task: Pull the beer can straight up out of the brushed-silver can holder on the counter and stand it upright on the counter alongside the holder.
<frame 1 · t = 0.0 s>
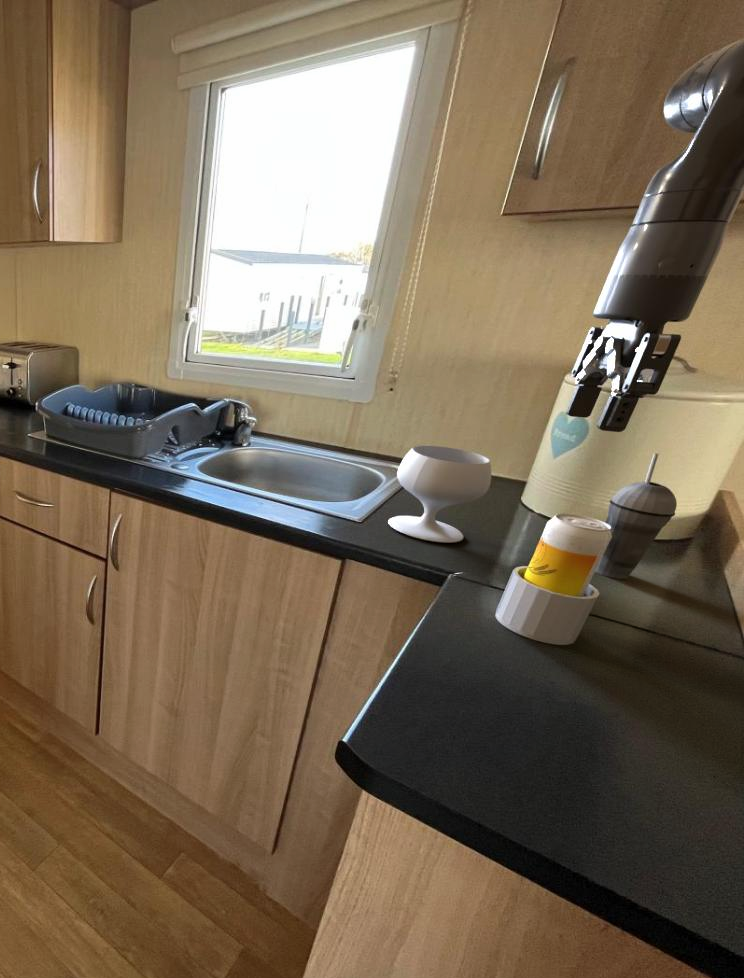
hand: (592, 423, 65), 28 cm above the worktop, tool pointing down, fingers open, 8 cm apart
can holder: (534, 626, 75), on the worktop
chalice: (423, 531, 104), on the worktop
beverage cup: (608, 573, 90), on the worktop
beer can: (535, 623, 75), resting on can holder
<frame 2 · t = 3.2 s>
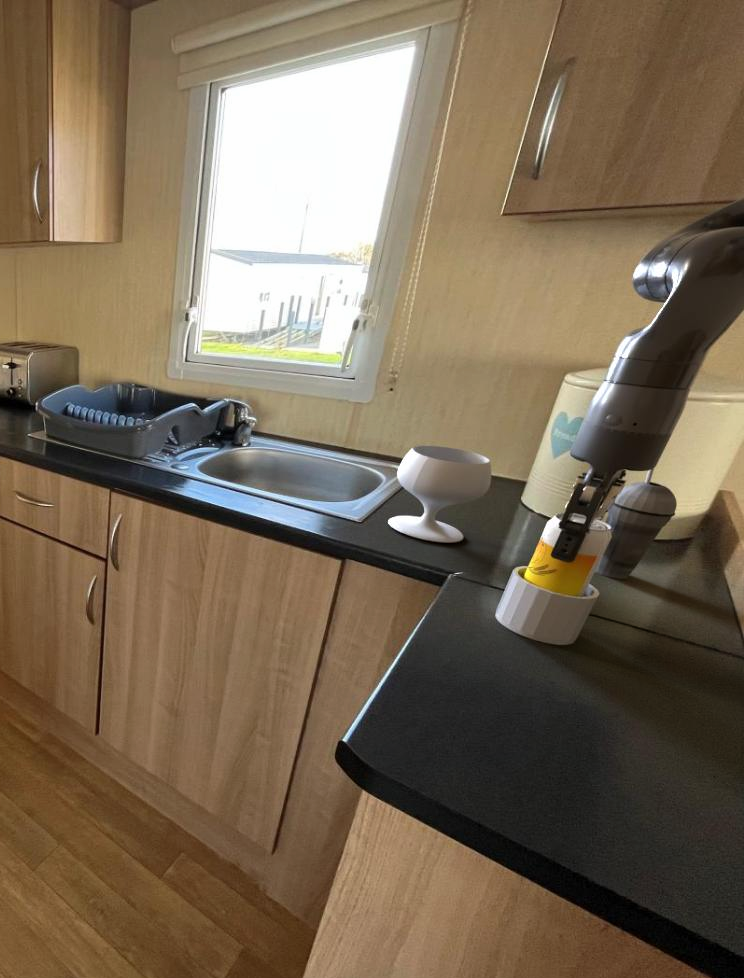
hand: (568, 552, 70), 11 cm above the worktop, tool pointing down, fingers closed on beer can, 6 cm apart
beer can: (535, 623, 75), resting on can holder, touching gripper
everything else where it was.
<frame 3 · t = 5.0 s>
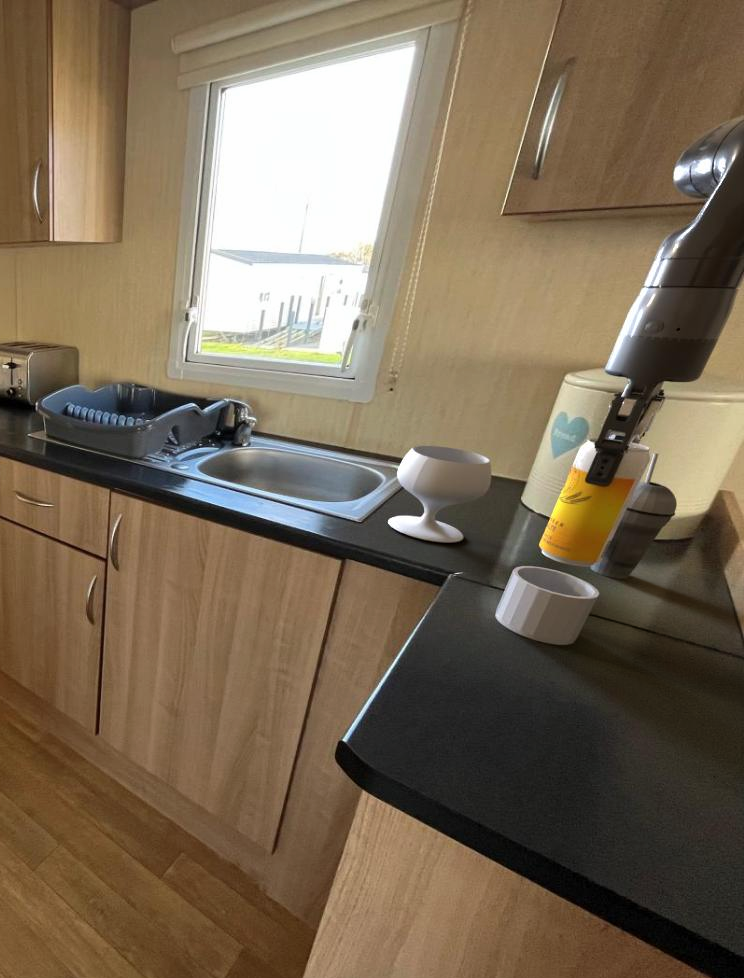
hand: (602, 479, 66), 21 cm above the worktop, tool pointing down, fingers closed on beer can, 6 cm apart
beer can: (566, 558, 71), point 10 cm above the worktop, touching gripper
everything else where it was.
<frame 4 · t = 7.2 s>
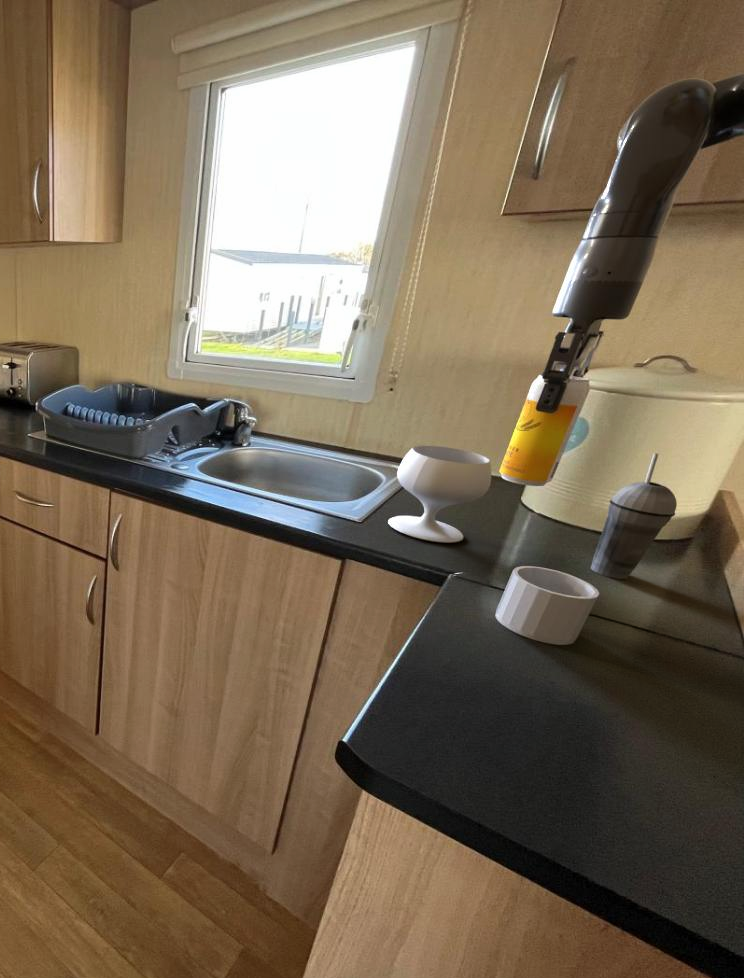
hand: (551, 408, 77), 27 cm above the worktop, tool pointing down, fingers closed on beer can, 6 cm apart
beer can: (522, 481, 81), point 16 cm above the worktop, touching gripper
everything else where it was.
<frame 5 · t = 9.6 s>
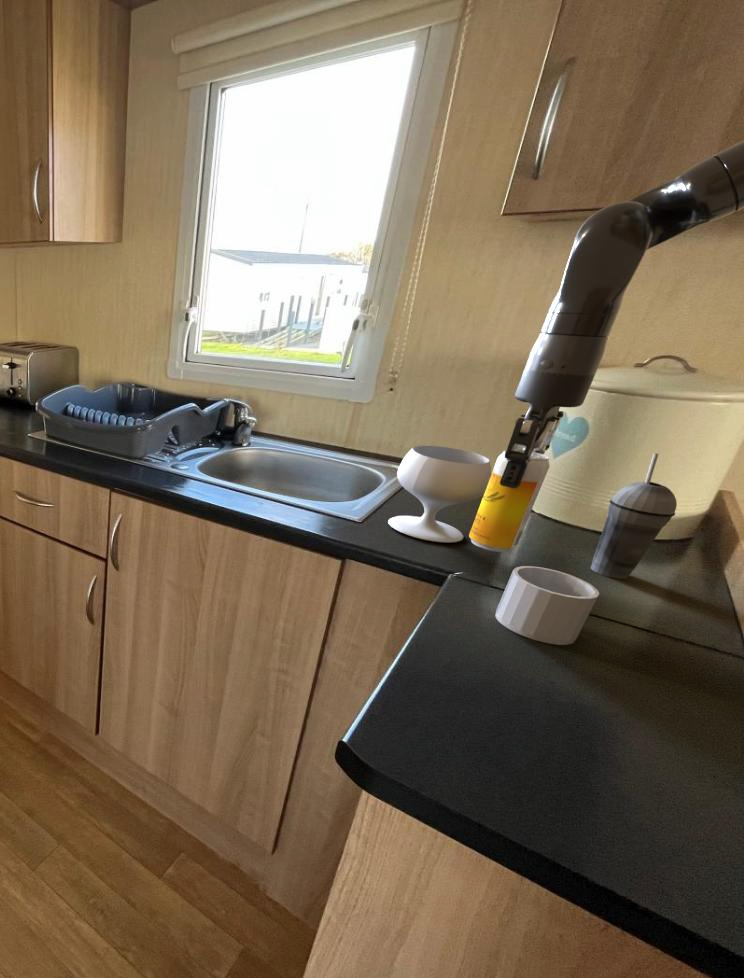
hand: (515, 482, 83), 15 cm above the worktop, tool pointing down, fingers closed on beer can, 6 cm apart
beer can: (489, 546, 87), point 5 cm above the worktop, touching gripper
everything else where it was.
when the fingers open (11 cm above the worktop, at t = 11.3 s): beer can stays where it is, on the worktop.
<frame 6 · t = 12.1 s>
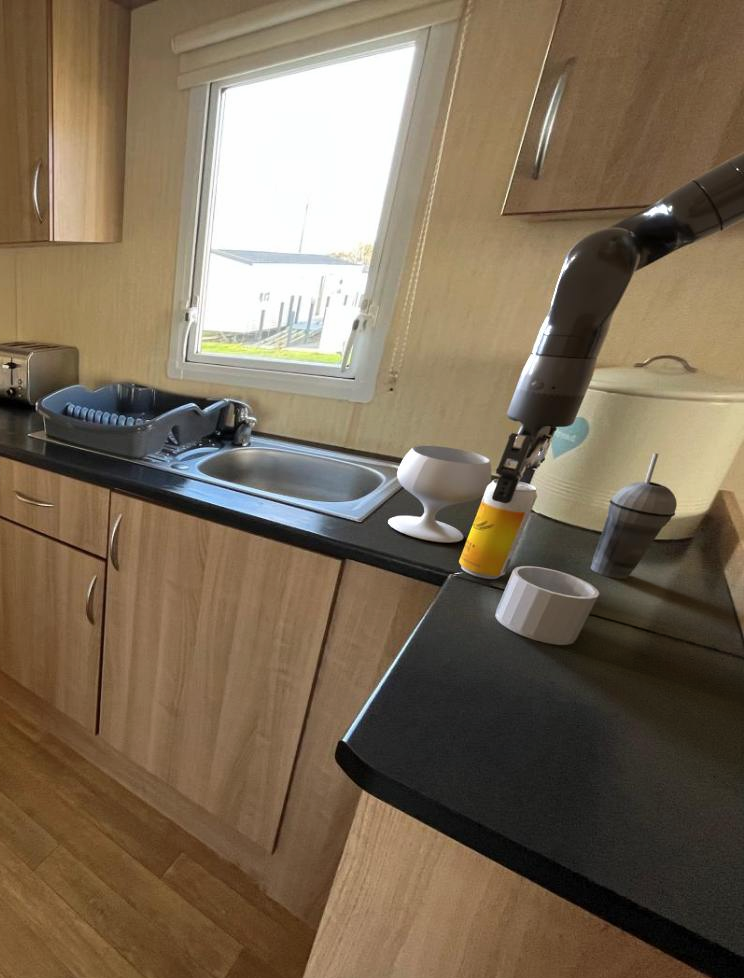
hand: (509, 495, 84), 13 cm above the worktop, tool pointing down, fingers open, 8 cm apart
beer can: (479, 572, 89), on the worktop
everything else where it was.
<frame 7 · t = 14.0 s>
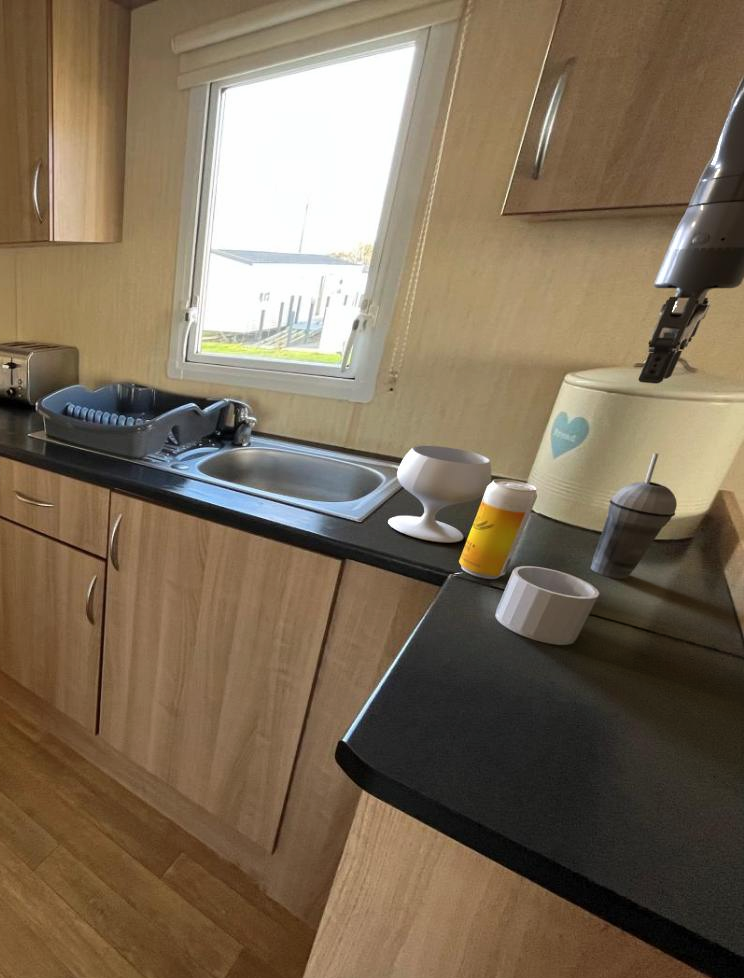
hand: (653, 380, 74), 31 cm above the worktop, tool pointing down, fingers open, 8 cm apart
nothing on the worktop moved.
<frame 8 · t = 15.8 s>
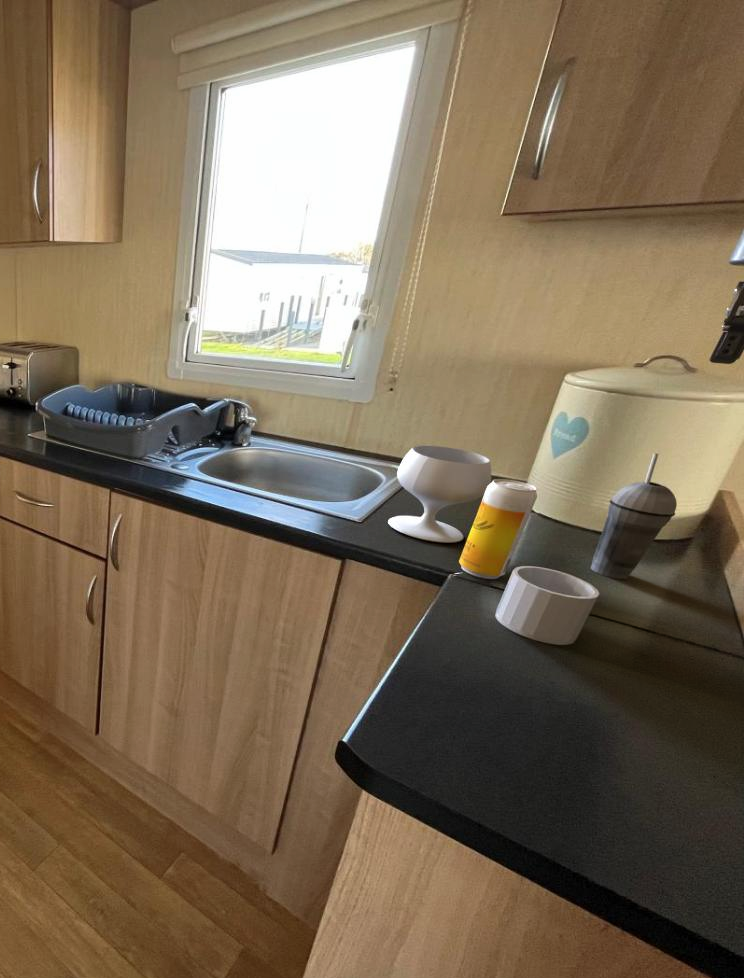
hand: (723, 361, 72), 34 cm above the worktop, tool pointing down, fingers open, 8 cm apart
nothing on the worktop moved.
at the end: beer can inside the target area (0.1 cm from its centre), on the worktop; beer can tilted 0°; the gripper is holding nothing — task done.
